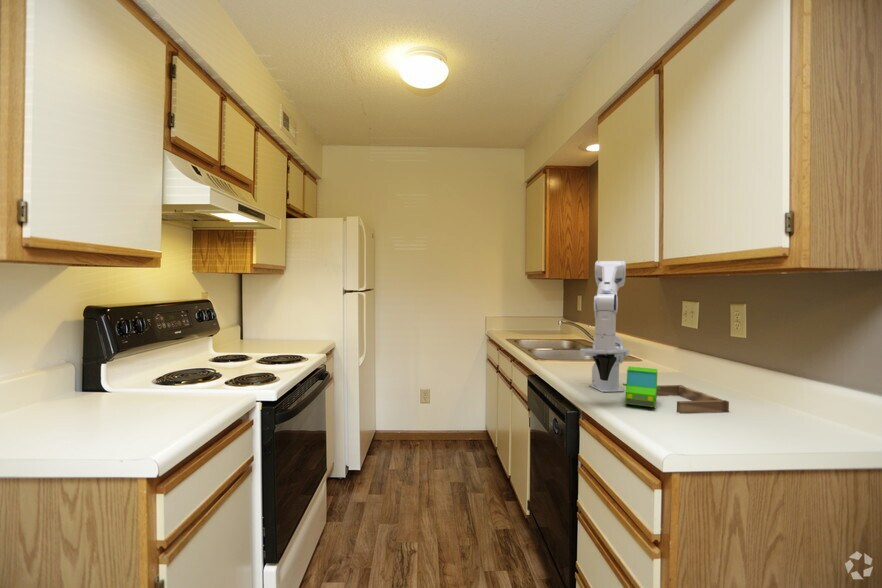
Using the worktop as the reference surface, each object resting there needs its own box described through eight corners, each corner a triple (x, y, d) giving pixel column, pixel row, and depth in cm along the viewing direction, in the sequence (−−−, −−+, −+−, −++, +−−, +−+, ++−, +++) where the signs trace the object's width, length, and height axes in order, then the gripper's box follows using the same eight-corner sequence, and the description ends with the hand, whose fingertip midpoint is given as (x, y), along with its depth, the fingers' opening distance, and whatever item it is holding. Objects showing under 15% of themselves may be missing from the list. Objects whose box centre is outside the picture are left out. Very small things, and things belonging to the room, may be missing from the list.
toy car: (620, 407, 127) (621, 373, 127) (624, 397, 139) (625, 366, 139) (659, 412, 122) (660, 377, 122) (660, 401, 134) (661, 369, 134)
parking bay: (638, 395, 141) (638, 385, 141) (680, 394, 143) (681, 385, 143) (680, 413, 121) (680, 402, 121) (728, 411, 123) (729, 401, 123)
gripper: (588, 335, 124) (587, 383, 124) (635, 335, 125) (634, 382, 126) (577, 333, 131) (576, 378, 131) (622, 333, 132) (621, 377, 133)
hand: (604, 380), depth 129 cm, fingers closed
